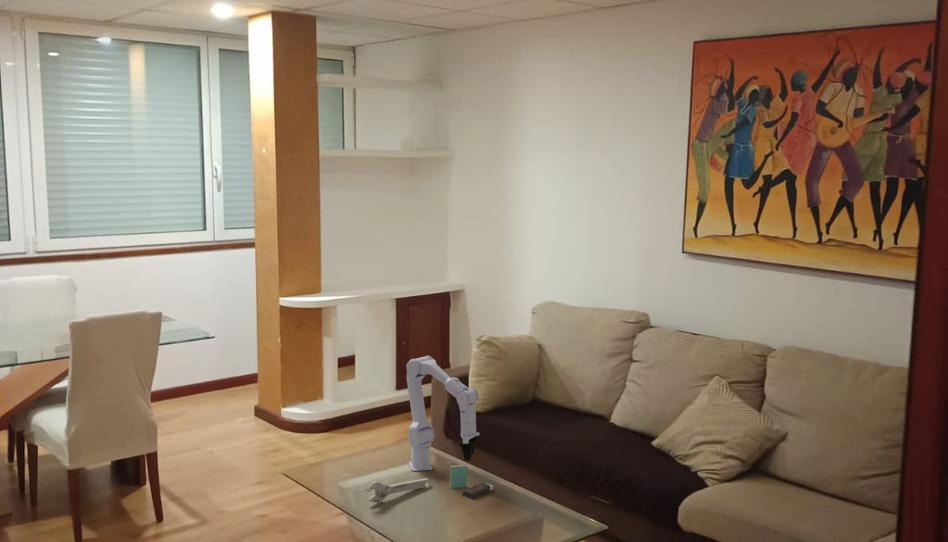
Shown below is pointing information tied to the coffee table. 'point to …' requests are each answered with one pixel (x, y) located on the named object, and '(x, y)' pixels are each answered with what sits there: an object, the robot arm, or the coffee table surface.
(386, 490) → the wrench
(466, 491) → the usb drive
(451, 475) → the tile
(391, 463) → the coffee table surface
